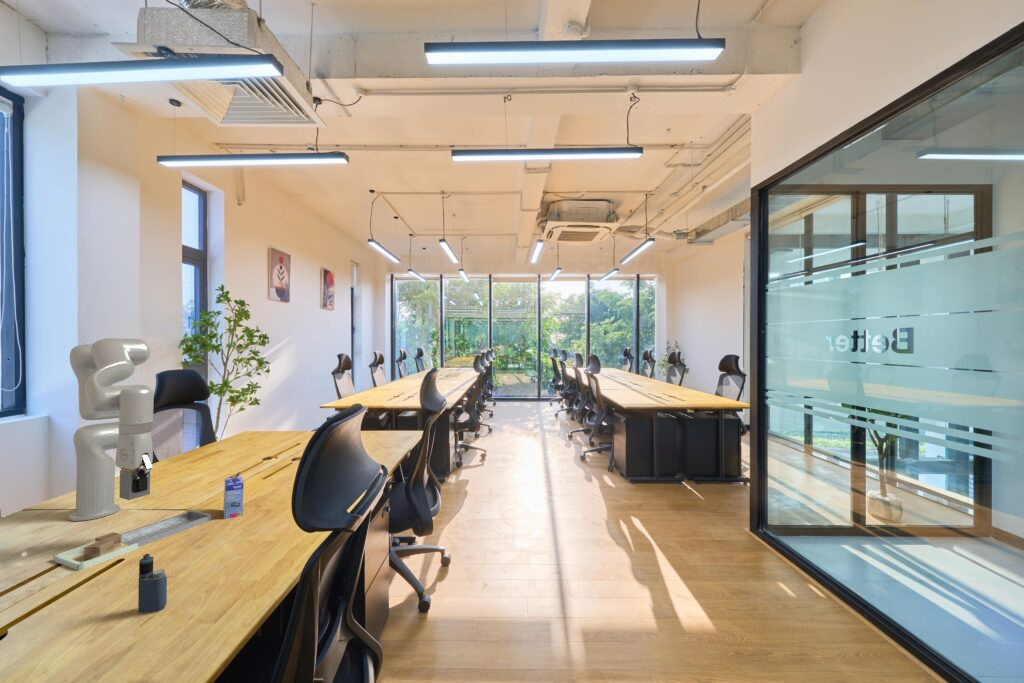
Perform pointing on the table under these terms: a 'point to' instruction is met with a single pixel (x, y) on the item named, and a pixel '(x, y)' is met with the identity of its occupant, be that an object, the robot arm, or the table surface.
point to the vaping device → (151, 587)
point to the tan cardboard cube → (111, 536)
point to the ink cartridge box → (233, 497)
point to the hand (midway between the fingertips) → (134, 489)
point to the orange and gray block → (131, 485)
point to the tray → (77, 565)
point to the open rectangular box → (165, 528)
